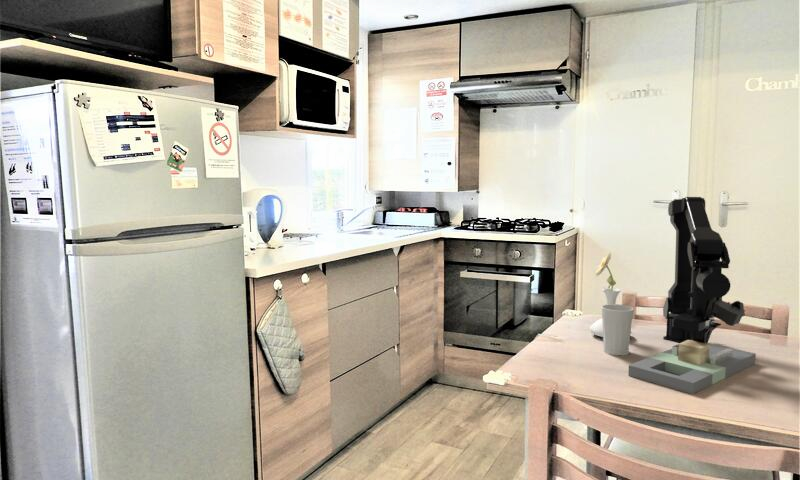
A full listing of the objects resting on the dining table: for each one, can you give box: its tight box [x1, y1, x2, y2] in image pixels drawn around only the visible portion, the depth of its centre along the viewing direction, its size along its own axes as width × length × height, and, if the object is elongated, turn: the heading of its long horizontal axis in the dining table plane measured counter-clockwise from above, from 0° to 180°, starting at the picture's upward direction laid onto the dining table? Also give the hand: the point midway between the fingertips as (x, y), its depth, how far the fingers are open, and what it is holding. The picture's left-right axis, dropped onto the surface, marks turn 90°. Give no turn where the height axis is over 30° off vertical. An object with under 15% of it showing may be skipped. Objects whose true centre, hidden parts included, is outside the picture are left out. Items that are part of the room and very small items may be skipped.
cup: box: [600, 303, 635, 356], centre depth 155 cm, size 8×8×12 cm
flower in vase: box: [589, 251, 632, 338], centre depth 168 cm, size 13×11×25 cm
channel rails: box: [671, 340, 734, 365], centre depth 144 cm, size 10×9×2 cm
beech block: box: [678, 340, 711, 365], centre depth 140 cm, size 5×5×4 cm
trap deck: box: [628, 342, 757, 395], centre depth 142 cm, size 15×32×2 cm, turn 128°
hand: (701, 351), depth 143 cm, fingers closed
